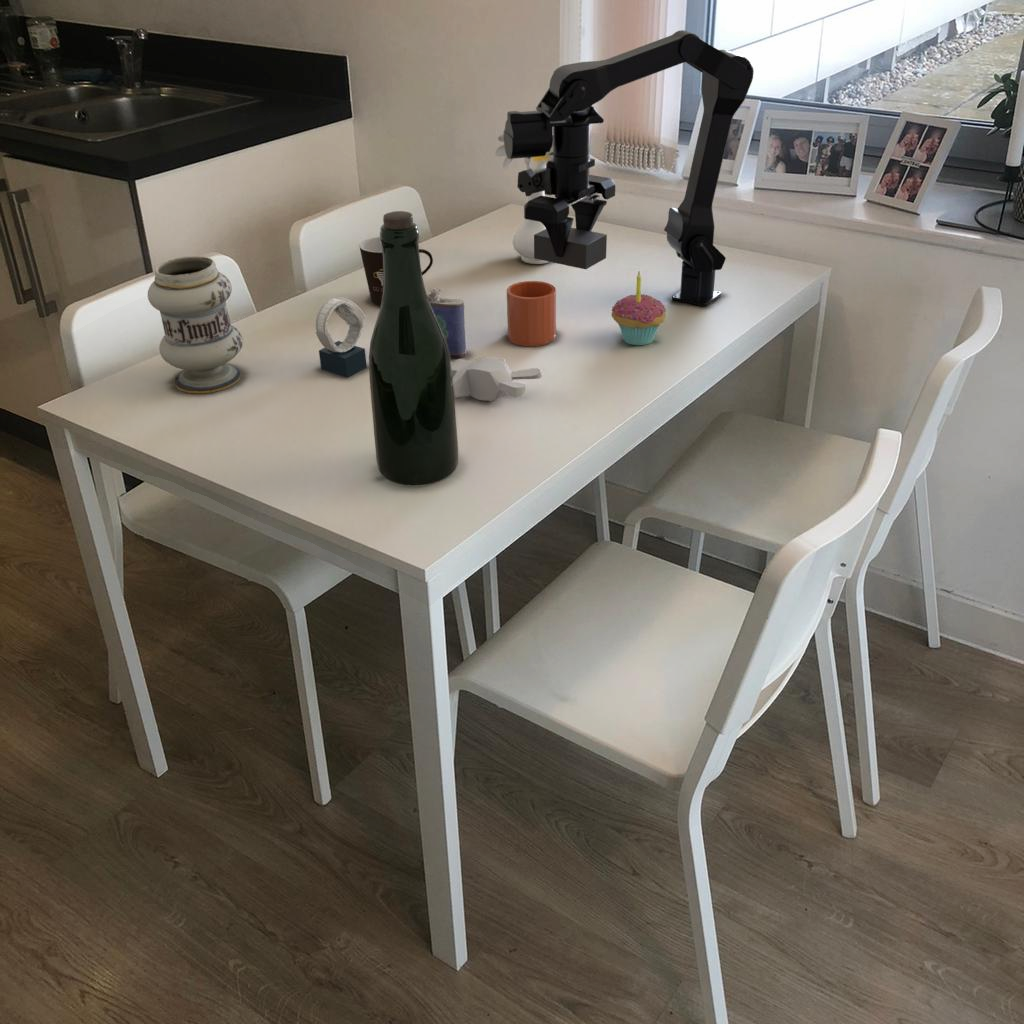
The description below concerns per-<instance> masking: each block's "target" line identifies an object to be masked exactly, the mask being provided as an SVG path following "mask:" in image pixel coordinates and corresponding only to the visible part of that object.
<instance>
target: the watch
mask: <svg viewBox="0 0 1024 1024" xmlns="http://www.w3.org/2000/svg"><path fill="white" fill-rule="evenodd" d="M333 312H335V313H336V314H337V315H338V316H339V317H340V318H341V320H343V321H344V322H345V324H346V325H347V326H348V331H347V334H346V336H345V338H344V339H343V341H341V340H337V341H334V340H333V338H332V336H331V333H329V331H328V321H329V318H330V317H331V314H332V313H333ZM365 315H366V314H365V313H364V311H363V310H362V309H361V307H360V306H359V305H357V303H354V302H353V301H352V300H350V299H349V298H346V297H342V296H341V297H340V296H339V297H338V298H336V297H331V298H329V299H328V300H326V301H325V302H323V304H321V306H320V308H319V310H318V312H317V314H316V318H315V334H316V337H317V339H318V341H319V343H320V344H321V345H322V346H323V347H322V348H321V349H319V350H318V354H319V355H318V356H319V362H320V363H319V365H320V369H321V370H322V371H325V372H328V373H331V374H335V375H337V376H341V377H344V378H350V377H352V376H353V375H355V374H357V373H359V372H361V371H363V370H365V369H367V368H368V366H367V356H366V355H367V354H366V348H364V347H360V346H358V345H357V343H358V342H359V340H360V337H361V335H362V330H363V328H364V320H365V318H366V316H365Z"/></svg>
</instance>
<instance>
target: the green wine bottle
mask: <svg viewBox="0 0 1024 1024" xmlns="http://www.w3.org/2000/svg"><path fill="white" fill-rule="evenodd" d="M382 217H383V218H382V223H383V224H381V226H380V229H379V230H380V231H379V237H380V240H381V244H382V254H383V278H384V279H383V295H382V301H381V306H379V310H378V313H377V317H376V320H375V324H374V327H373V331H372V333H371V338H370V341H369V352H368V371H369V372H368V373H369V375H368V376H369V389H370V402H371V414H372V425H373V438H374V447H375V457H376V465H377V469H378V471H379V473H380V474H381V475H382V477H383V478H385V479H386V480H388V481H389V482H391V483H395V484H397V485H403V486H410V487H415V486H416V487H418V486H427V485H431V484H435V483H438V482H441V481H443V480H445V479H446V478H448V477H450V476H451V475H452V474H454V472H455V471H456V469H457V468H458V465H459V440H458V426H457V414H456V402H455V397H454V388H453V376H452V367H451V364H452V362H451V361H452V360H451V358H450V352H449V348H448V344H447V341H446V337H445V335H444V332H443V330H442V328H441V326H440V324H439V322H438V320H437V317H436V315H435V313H434V311H433V309H432V307H431V305H430V302H429V300H428V297H427V295H428V294H427V291H426V287H425V283H424V278H423V276H422V271H423V270H422V264H421V257H420V256H421V255H420V253H419V249H420V244H419V241H420V231H419V229H418V228H419V227H418V225H417V224H416V223H415V222H414V217H413V213H411V212H409V211H405V210H394V211H390V212H386V213H385V214H384V215H383V216H382Z"/></svg>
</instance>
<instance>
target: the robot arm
mask: <svg viewBox="0 0 1024 1024" xmlns="http://www.w3.org/2000/svg"><path fill="white" fill-rule="evenodd" d="M683 63H685V64H688V65H689V66H690V67H692V68H694V69H695V70H697V71H699V72H700V73H701V86H700V89H701V98H702V105H703V106H702V107H703V112H702V118H701V120H700V121H701V122H700V127H699V130H698V135H697V139H696V144H695V150H694V153H693V157H692V162H691V167H690V172H689V177H688V181H687V186H686V189H685V194H684V198H683V200H682V202H681V203H680V204H679V206H678V207H677V208H675V207H669V209H668V214H667V215H668V217H667V222H666V224H665V227H664V228H663V231H664V232H665V233H666V241H667V243H668V244H669V246H670V247H671V248H672V249H673V250H674V251H675V254H676V256H677V257H678V258H680V259H681V260H682V262H681V274H680V290H678V292H676V293H675V294H673V295H672V296H671V299H672V300H674V301H679V302H683V303H688V304H692V305H697V306H701V307H706V306H708V305H709V304H711V303H712V302H714V301H715V300H716V299H717V298H719V297H721V296H722V292H721V291H718V290H715V282H716V271H720V270H722V268H723V266H724V264H725V262H726V260H727V259H726V256H725V255H724V254H723V253H722V252H721V251H720V250H719V249H718V248H717V247H715V245H714V240H715V239H714V238H715V220H714V213H713V203H714V198H715V194H716V189H717V187H718V185H717V184H718V182H719V178H720V174H721V169H722V164H723V160H724V157H725V152H726V148H727V144H728V139H729V136H730V131H731V126H732V122H733V118H734V116H735V114H736V113H737V112H738V110H739V109H740V107H741V106H742V105H743V103H744V102H745V100H746V98H747V95H748V93H749V90H750V88H751V85H752V83H753V80H754V74H755V73H754V71H755V70H754V67H753V65H752V64H751V61H750V60H749V59H748V58H746V57H745V56H742V55H740V54H738V53H736V52H733V51H730V50H727V49H718V48H716V47H714V46H713V45H711V44H709V43H707V42H706V41H704V40H703V39H701V38H700V36H698V35H697V34H695V33H692V32H690V31H687V30H684V29H681V30H677V31H675V32H674V33H673V34H671V35H668V36H665V37H663V38H660V39H657V40H654V41H652V42H649V43H647V44H644V45H641V46H638V47H636V48H633V49H631V50H627V51H625V52H623V53H620V54H616V55H614V56H612V57H609V58H607V59H601V60H591V61H580V62H575V63H569V64H568V63H567V64H564V65H560V66H559V67H557V68H556V69H555V70H554V71H553V73H552V75H551V77H550V80H549V86H548V89H547V90H546V92H545V93H544V95H543V97H542V98H541V100H539V102H538V104H537V106H536V107H535V110H526V111H518V110H509V111H507V114H506V115H507V120H506V121H505V124H504V129H505V131H504V130H503V134H504V142H503V145H504V146H505V152H506V155H507V156H506V157H508V159H512V160H514V159H515V160H516V159H524V158H527V157H539V156H545V155H546V152H550V149H551V148H552V144H553V159H552V160H549V161H548V162H547V164H546V168H545V169H541V170H538V171H535V172H534V171H533V170H532V169H531V168H530V169H528V170H527V169H524V170H520V171H518V173H517V174H518V175H517V185H516V186H517V189H519V191H520V192H521V193H524V195H525V197H529V196H531V195H532V194H533V193H537V192H541V191H544V190H545V196H539V197H536V198H534V199H532V200H530V201H527V202H526V203H525V204H524V205H523V218H524V220H525V219H528V220H533V221H539V222H541V223H542V224H543V225H544V226H545V228H546V230H547V232H548V235H549V237H550V240H551V243H552V246H553V249H554V252H555V255H556V257H560V258H561V257H563V254H564V251H565V248H566V245H567V241H568V237H569V234H570V230H571V228H573V227H572V226H573V223H574V218H575V228H576V229H581V230H586V231H593V228H594V226H595V224H596V223H597V221H598V218H599V217H600V215H601V213H602V212H603V209H604V208H605V206H607V204H608V200H609V199H611V198H613V197H615V196H616V183H615V182H614V180H613V179H612V178H611V177H606V176H600V175H594V174H590V169H591V168H593V167H594V166H596V158H592V157H591V125H596V124H603V123H604V122H605V119H604V117H602V116H601V115H600V114H599V113H598V111H597V109H596V107H595V106H593V105H595V104H597V103H598V102H600V101H602V100H603V99H604V98H605V97H607V95H609V94H610V93H611V92H612V91H614V90H616V89H618V88H620V87H622V86H625V85H628V84H630V83H633V82H636V81H638V80H641V79H643V78H647V77H649V76H652V75H655V74H657V73H660V72H663V71H665V70H668V69H670V68H673V67H675V66H678V65H681V64H683ZM552 127H553V133H552ZM590 157H591V158H590ZM600 195H601V196H600ZM552 196H554V197H552ZM601 197H602V198H603V199H604V200H603V199H601ZM570 207H571V208H572V210H573V211H574V217H571V216H570V217H569V215H570Z"/></svg>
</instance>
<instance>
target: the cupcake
mask: <svg viewBox="0 0 1024 1024" xmlns="http://www.w3.org/2000/svg"><path fill="white" fill-rule="evenodd" d="M641 290H642V275H641V273H640V271H637V275H636V289H635V291H636V292H635V294H629V295H627V296H625V297H623V298H621V299H620V300H617V301H616V302H615V303H614V306H611V308H612V309H611V318H612V319H613V320H614V321H615V322H616V324H617V325H618V326H619V329H620V332H621V335H622V340H623V341H624V343H627V344H629V345H633V346H645V345H649V344H652V342H654V339H655V336H656V333H657V332H658V330H659V327H660V325H661V324H662V323H664V322H665V320H666V312H667V310H666V307H665V305H664V304H663V303H662V302H661V301H660V300H659V299H657V298H655V297H653V296H651V295H648V294H641Z"/></svg>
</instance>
